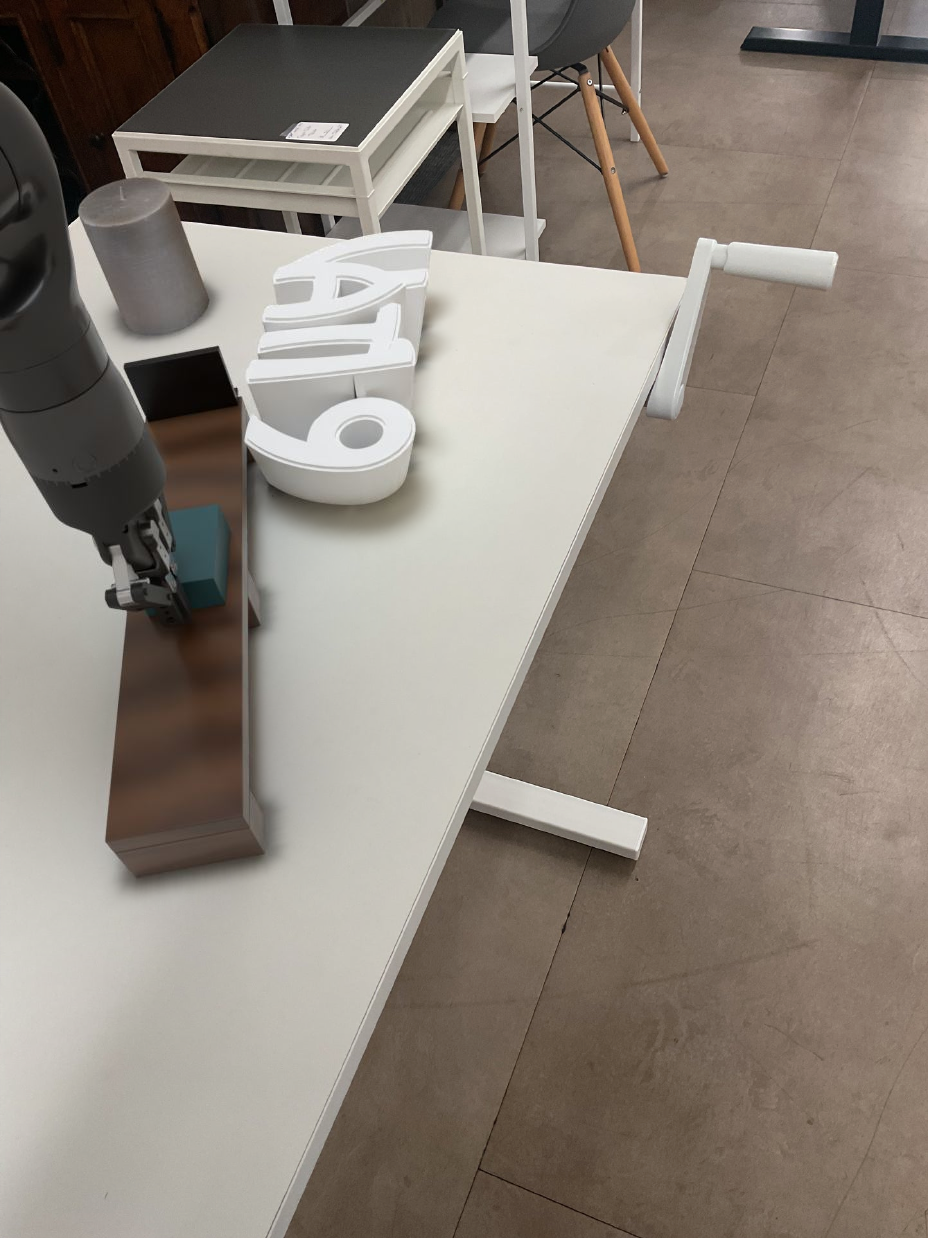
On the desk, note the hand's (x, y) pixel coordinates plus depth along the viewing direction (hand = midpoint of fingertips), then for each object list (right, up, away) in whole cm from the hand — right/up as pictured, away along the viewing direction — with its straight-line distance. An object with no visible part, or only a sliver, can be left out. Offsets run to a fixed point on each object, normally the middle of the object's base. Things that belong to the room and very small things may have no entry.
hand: (178, 618), depth 74 cm
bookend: (-4, +19, +18) cm, 26 cm away
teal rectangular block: (0, +4, +5) cm, 6 cm away
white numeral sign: (+11, +21, +25) cm, 34 cm away
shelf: (0, -1, +9) cm, 9 cm away
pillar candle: (-12, +34, +40) cm, 54 cm away
